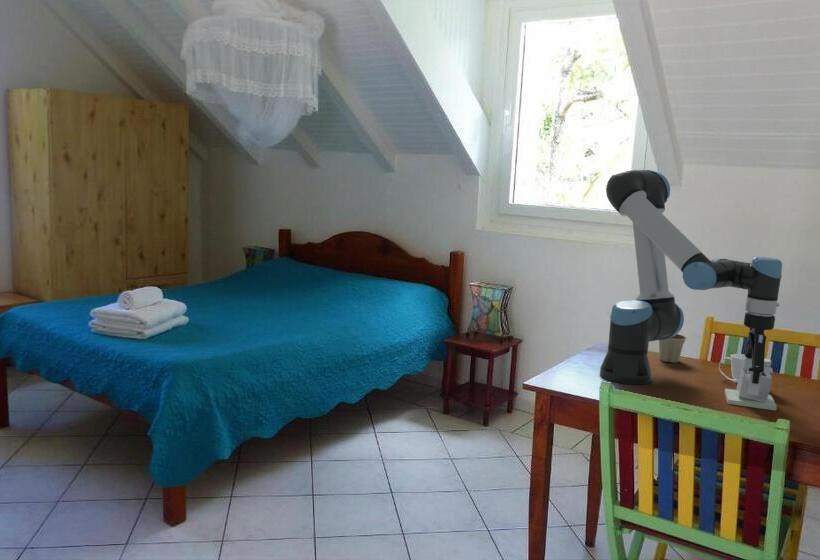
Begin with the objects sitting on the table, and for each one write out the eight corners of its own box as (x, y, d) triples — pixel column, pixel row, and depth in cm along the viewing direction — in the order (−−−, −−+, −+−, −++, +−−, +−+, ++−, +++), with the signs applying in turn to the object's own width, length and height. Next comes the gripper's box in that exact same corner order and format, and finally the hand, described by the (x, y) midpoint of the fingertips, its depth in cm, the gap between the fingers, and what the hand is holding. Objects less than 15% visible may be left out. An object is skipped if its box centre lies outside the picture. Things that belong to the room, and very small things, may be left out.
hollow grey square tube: (738, 396, 188) (744, 372, 187) (736, 389, 195) (741, 366, 193) (766, 402, 186) (772, 378, 185) (762, 395, 192) (768, 372, 191)
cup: (751, 386, 204) (755, 361, 203) (715, 380, 209) (718, 355, 208) (753, 381, 210) (756, 356, 209) (718, 375, 215) (721, 350, 214)
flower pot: (688, 360, 232) (690, 336, 230) (678, 365, 225) (680, 340, 223) (661, 355, 238) (663, 331, 236) (650, 359, 231) (652, 335, 229)
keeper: (727, 403, 188) (731, 371, 186) (724, 392, 198) (728, 362, 196) (776, 410, 184) (780, 378, 182) (770, 398, 194) (774, 367, 192)
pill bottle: (750, 387, 204) (754, 356, 203) (770, 391, 201) (775, 359, 200) (748, 391, 200) (752, 359, 198) (768, 395, 197) (772, 363, 195)
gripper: (782, 324, 174) (771, 402, 177) (768, 307, 197) (759, 376, 201) (750, 320, 176) (739, 398, 180) (740, 304, 200) (731, 373, 203)
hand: (750, 387), depth 190 cm, fingers open, 13 cm apart
